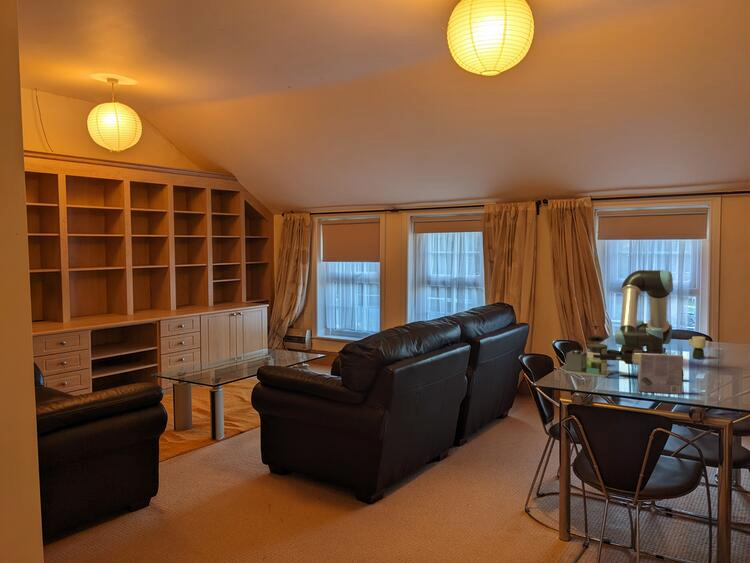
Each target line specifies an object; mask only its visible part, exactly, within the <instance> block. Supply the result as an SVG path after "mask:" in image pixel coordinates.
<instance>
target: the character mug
mask: <svg viewBox="0 0 750 563" xmlns="http://www.w3.org/2000/svg"><path fill="white" fill-rule="evenodd" d="M688 345H690V346H691V348H693V352H692V358H694V359H700V358H702V359H705V352H704V349H705V348H706V347H709V346H710V341H709V340H706V337H705V336H696V335H695V336H692V337H691V338H689V339H688Z"/></svg>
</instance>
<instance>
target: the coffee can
mask: <svg viewBox="0 0 750 563" xmlns="http://www.w3.org/2000/svg"><path fill="white" fill-rule="evenodd" d="M607 351H608V345H607V344H603V343H596V344H595V343H588V344H586V352H589V353H602V354H607ZM587 367H591V368H600V369H599V374H601V373H607V370H608V369H607V368H608V360H600V359H595V358H587ZM586 371H587V370H586Z"/></svg>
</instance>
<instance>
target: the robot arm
mask: <svg viewBox="0 0 750 563" xmlns="http://www.w3.org/2000/svg"><path fill="white" fill-rule="evenodd" d="M673 291H674V283H673V275H672V272H671V271H669V270H663V269H661V270H660V269H659V270H658V269H656V270H655V269H652V270H651V269H648V270H647V269H646V270H645V269H642V270H641V269H639V270H635V271H633V272H631V273H630V274H629V275H628V276H627V277H626V278H625V279H624V281H623V282H622V285H621V294H622V305H621V314H620V327H619V329H616V330H615V331H614V332H615V333H614V341H615V345H621V347H620V350H616V349H615V350H614V349H607V354H602V353H589V352H587V351H586V352H587V358H595V359H600V360H607V361H620V362H621V361H623V362H624V364H626V365H636V366H637V365H638V366H639V353H648V354H666V355H668V353H667V352H665V351H664V349H663V348H664V346H663V345H668V344H670V343H671V340H672V336H673V335H672V334H673V325H672V324H670V322H669V321H668V320H667V319H668V318H667V317H668V313H667V312H668V311H667V310H668V309H667V308H668V296H669V295H670V294H671V293H673ZM641 292H642V293H643V292H646V294H647V296H649V320H648V322H647V323H645V321H644V320H640V319H639V320H637V319H638V317H637V316H638V308H639V307H638V306H639V305H638V304H639V296H640V295H641ZM644 347H646V348H645V349H644Z"/></svg>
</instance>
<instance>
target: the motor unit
mask: <svg viewBox="0 0 750 563" xmlns="http://www.w3.org/2000/svg"><path fill="white" fill-rule="evenodd" d="M565 355H566V356H565V369H564V370H563V373H564V372H565V373H564V374H570V373H573V374H572V375H581V376H589V377H598V378H607V377H608V376H609V375H611V374H612V370H610V369H609V370H608V369H607V373H601V374H599V369H600V368H591V367H587V351H581V350H579V349H578V350H577V349H575V350H571V351H569V352H566V353H565ZM586 370H587V371H586Z"/></svg>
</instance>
